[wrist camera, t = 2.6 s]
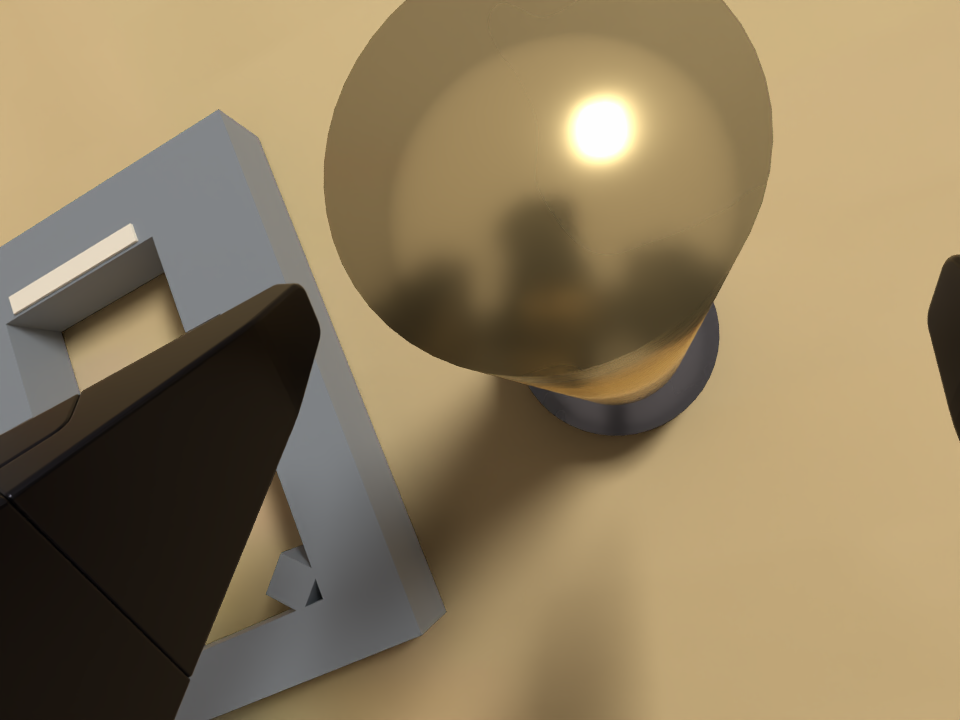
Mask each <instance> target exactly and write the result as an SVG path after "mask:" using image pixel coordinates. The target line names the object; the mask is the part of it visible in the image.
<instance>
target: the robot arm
mask: <svg viewBox="0 0 960 720" xmlns="http://www.w3.org/2000/svg"><path fill="white" fill-rule="evenodd" d="M928 329H929V333H930V337H931V341H932V345H933V349H934V353H935V356H936V360H937V364H938V368H939V372H940V376H941V380H942V384H943V388H944V392H945V396H946V400H947V404H948V408H949V411H950V415H951V418H952V422H953V425H954V428H955V430H956V433H957V436H958V438H959V441H960V255H953V256H951V257H950V258H948V259H947V260H946V262H945V263H944V265H943V267H942V270H941V273H940V276H939V279H938V282H937V285H936V288H935V291H934V294H933V297H932V301H931V304H930V307H929V310H928ZM320 336H321V329H320V324H319V321H318V319H317V316H316V314H315V312H314V309H313V307H312V304H311V302H310V300H309V297H308V295H307V292H306V290H305V289H304V288H303V286H301V285H300V284H298V283H287V284H276V285H273V286H271V287H270V288H268V289H266V290H264V291H262V292H261V293H259V294H257V295H255V296H253V297H251V298H250V299H248V300H246V301H244V302H242V303H241V304H239V305H237V306H235V307H233V308H232V309H230V310H228V311H226V312H224V313H223V314H221V315H219V316H217V317H215V318H213V319H212V320H210V321H208V322H206V323H204V324H203V325H201V326H199V327H197V328H195V329H194V330H192V331H190V332H188V333H186V334H185V335H183V336H181V337H179V338H177V339H175V340H174V341H172V342H170V343H168V344H166V345H165V346H163V347H161V348H159V349H157V350H156V351H154V352H152V353H150V354H148V355H147V356H145V357H143V358H141V359H139V360H137V361H136V362H134V363H132V364H130V365H128V366H127V367H125V368H123V369H121V370H119V371H118V372H116V373H114V374H112V375H110V376H109V377H107V378H105V379H103V380H101V381H99V382H98V383H96V384H94V385H92V386H90V387H89V388H87V389H85V390H83V391H82V392H81V394H76V395H74V396H72V397H70V398H68V399H67V400H65V401H63V402H61V403H59V404H58V405H56V406H54V407H52V408H50V409H48V410H47V411H45V412H43V413H41V414H39V415H37V416H35V417H34V418H32V419H30V420H28V421H26V422H24V423H22V424H20V425H19V426H17V427H15V428H13V429H11V430H9V431H7V432H5V433H3V434H1V435H0V720H175V717H176V715H177V712H178V710H179V707H180V705H181V702H182V700H183V698H184V695H185V693H186V690H187V688H188V685H189V683H190V678H189V677H191V676H192V675H193V672H194V670H195V667H196V665H197V662H198V660H199V658H200V655H201V653H202V650H203V648H204V645H205V643H206V640H207V638H208V636H209V633H210V631H211V628H212V626H213V623H214V621H215V618H216V616H217V613H218V611H219V609H220V606H221V604H222V601H223V599H224V596H225V594H226V591H227V589H228V587H229V584H230V582H231V579H232V577H233V574H234V572H235V569H236V567H237V565H238V562H239V560H240V557H241V555H242V552H243V550H244V547H245V545H246V543H247V540H248V538H249V535H250V533H251V530H252V528H253V525H254V523H255V521H256V518H257V516H258V513H259V511H260V508H261V506H262V503H263V501H264V498H265V496H266V494H267V491H268V489H269V486H270V484H271V481H272V479H273V476H274V474H275V472H276V469H277V467H278V464H279V462H280V459H281V457H282V454H283V452H284V450H285V447H286V445H287V442H288V440H289V437H290V435H291V432H292V430H293V428H294V425H295V422H296V420H297V417H298V414H299V411H300V408H301V405H302V402H303V398H304V394H305V391H306V387H307V384H308V380H309V377H310V373H311V370H312V366H313V363H314V359H315V355H316V352H317V348H318V345H319V341H320Z"/></svg>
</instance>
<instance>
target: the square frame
mask: <svg viewBox="0 0 960 720" xmlns="http://www.w3.org/2000/svg"><path fill="white" fill-rule="evenodd" d="M164 272H165V275H166V278H167V281H168V283H169V286H170V289H171V292H172V295H173V298H174V301H175V304H176V306H177V309H178V312H179V315H180V318H181V321H182V324H183V327H184V329H185V332H186V333H188V332H190V331H192V330H194V329H195V328H197V327H199V326H201V325H203V324H204V323H206V322H208V321H210V320H212V319H213V318H215V317H217V316H219V315H221V314H223V313H224V312H226V311H228V310H230V309H232V308H233V307H235V306H237V305H239V304H241V303H242V302H244V301H246V300H248V299H250V298H251V297H253V296H255V295H257V294H259V293H261V292H262V291H264V290H266V289H268V288H270V287H271V286H273V285H276V284H287V283H298V284H300V285H301V286H303V288H304V289H305V290H306V292H307V295H308V297H309V300H310V302H311V304H312V307H313V309H314V312H315V314H316V316H317V319H318V321H319V324H320V329H321V336H320V341H319V345H318V348H317V352H316V355H315V359H314V363H313V366H312V370H311V373H310V377H309V380H308V384H307V387H306V391H305V394H304V398H303V402H302V405H301V408H300V411H299V414H298V417H297V420H296V422H295V425H294V428H293V430H292V432H291V435H290V437H289V440H288V442H287V445H286V447H285V450H284V452H283V454H282V457H281V459H280V462H279V464H278V467H277V469H276V470H277V473H278V476H279V479H280V482H281V484H282V487H283V490H284V493H285V495H286V498H287V501H288V504H289V506H290V509H291V512H292V515H293V518H294V520H295V523H296V526H297V529H298V531H299V534H300V537H301V540H302V543H303V545H301V546H298V547H295V548H293V549H290V550H287V551H285V552H282V553H281V554H280V557H279V560H278V562H277V565H276V568H275V571H274V573H273V576H272V579H271V582H270V584H269V587H268V590H267V592H266V595H268V596H270V597H272V598H274V599H275V600H277V601H279V602H281V603H283V604H285V605H287V606H289V607H290V608H292V609H289V610H287V611H285V612H282V613H280V614H278V615H275V616H273V617H271V618H268V619H266V620H264V621H261V622H259V623H257V624H254V625H252V626H250V627H247V628H245V629H243V630H240V631H238V632H236V633H233V634H231V635H229V636H226V637H224V638H222V639H219V640H217V641H215V642H212V643H210V644H208V645H205V646H204V648H203V650H202V653H201V655H200V658H199V660H198V662H197V665H196V667H195V670H194V672H193V675H192V676H191V677H189V678H190V683H189V685H188V688H187V690H186V693H185V695H184V698H183V700H182V702H181V705H180V707H179V710H178V712H177V715H176V717H175V720H210V719H212V718H215V717H217V716H220V715H223V714H225V713H228V712H230V711H233V710H235V709H238V708H240V707H243V706H245V705H248V704H250V703H253V702H255V701H258V700H260V699H263V698H265V697H268V696H270V695H273V694H275V693H278V692H280V691H283V690H285V689H288V688H290V687H293V686H295V685H298V684H300V683H303V682H305V681H308V680H310V679H313V678H315V677H318V676H320V675H323V674H325V673H328V672H330V671H333V670H336V669H338V668H341V667H343V666H346V665H348V664H351V663H353V662H356V661H358V660H361V659H363V658H366V657H368V656H371V655H373V654H376V653H378V652H381V651H383V650H386V649H388V648H391V647H393V646H396V645H398V644H401V643H403V642H406V641H408V640H411V639H413V638H416V637H418V636H421V635H423V634H424V633H425V632H426V631H427V630H428V629H429V628H430V627H431V626H432V625H433V624H434V623H435V622H436V621H437V620H438V619H439V618H440V617H442V616H443V615H444V614H445V613H446V609H445V607H444V604H443V602H442V599H441V597H440V594H439V592H438V589H437V587H436V584H435V582H434V579H433V577H432V574H431V572H430V569H429V567H428V564H427V562H426V559H425V556H424V554H423V551H422V549H421V546H420V544H419V541H418V539H417V536H416V534H415V531H414V529H413V526H412V524H411V521H410V519H409V516H408V514H407V511H406V509H405V506H404V504H403V501H402V498H401V496H400V493H399V491H398V488H397V486H396V483H395V481H394V478H393V476H392V473H391V471H390V468H389V466H388V463H387V461H386V458H385V456H384V453H383V451H382V448H381V446H380V443H379V441H378V438H377V435H376V433H375V430H374V428H373V425H372V423H371V420H370V418H369V415H368V413H367V410H366V408H365V405H364V403H363V400H362V398H361V395H360V393H359V390H358V388H357V385H356V383H355V380H354V377H353V375H352V372H351V370H350V367H349V365H348V362H347V360H346V357H345V355H344V352H343V350H342V347H341V345H340V342H339V340H338V337H337V335H336V332H335V330H334V327H333V325H332V322H331V319H330V317H329V314H328V312H327V309H326V307H325V304H324V302H323V299H322V297H321V294H320V292H319V289H318V287H317V284H316V282H315V279H314V277H313V274H312V272H311V269H310V267H309V264H308V262H307V259H306V256H305V254H304V251H303V249H302V246H301V244H300V241H299V239H298V236H297V234H296V231H295V229H294V226H293V224H292V221H291V219H290V216H289V214H288V211H287V209H286V206H285V204H284V201H283V198H282V196H281V193H280V191H279V188H278V186H277V183H276V181H275V178H274V176H273V173H272V171H271V168H270V166H269V163H268V161H267V158H266V156H265V153H264V151H263V148H262V146H261V143H260V140H259V138H258V137H257V136H255V135H254V134H253V133H251V132H250V131H248V130H247V129H246V128H244V127H243V126H241V125H240V124H239V123H237V122H236V121H234V120H233V119H232V118H230V117H229V116H227V115H226V114H225V113H223V112H222V111H220V110H219V109H218V110H217V111H215V112H214V113H212V114H210V115H209V116H207V117H206V118H204V119H202V120H201V121H199V122H198V123H196V124H195V125H193V126H191V127H190V128H188V129H187V130H185V131H183V132H182V133H180V134H179V135H177V136H176V137H174V138H172V139H171V140H169V141H168V142H166V143H164V144H163V145H161V146H160V147H158V148H157V149H155V150H153V151H152V152H150V153H149V154H147V155H145V156H144V157H142V158H141V159H139V160H138V161H136V162H134V163H133V164H131V165H130V166H128V167H126V168H125V169H123V170H122V171H120V172H119V173H117V174H115V175H114V176H112V177H111V178H109V179H107V180H106V181H104V182H103V183H101V184H100V185H98V186H96V187H95V188H93V189H92V190H90V191H88V192H87V193H85V194H84V195H82V196H81V197H79V198H77V199H76V200H74V201H73V202H71V203H69V204H68V205H66V206H65V207H63V208H62V209H60V210H58V211H57V212H55V213H54V214H52V215H50V216H49V217H47V218H46V219H44V220H43V221H41V222H39V223H38V224H36V225H35V226H33V227H32V228H30V229H28V230H27V231H25V232H24V233H22V234H20V235H19V236H17V237H16V238H14V239H13V240H11V241H9V242H8V243H6V244H5V245H3V246H1V247H0V435H1V434H3V433H5V432H7V431H9V430H11V429H13V428H15V427H17V426H19V425H20V424H22V423H24V422H26V421H28V420H30V419H32V418H34V417H35V416H37V415H39V414H41V413H43V412H45V411H47V410H48V409H50V408H52V407H54V406H56V405H58V404H59V403H61V402H63V401H65V400H67V399H68V398H70V397H72V396H74V395H76V394H80V391H79V388H78V385H77V382H76V378H75V375H74V372H73V369H72V365H71V362H70V359H69V356H68V352H67V349H66V346H65V343H64V339H63V336H62V333H61V332H62V331H64V330H66V329H67V328H69V327H71V326H73V325H74V324H76V323H78V322H79V321H81V320H83V319H85V318H86V317H88V316H90V315H91V314H93V313H95V312H97V311H98V310H100V309H102V308H103V307H105V306H107V305H109V304H110V303H112V302H114V301H116V300H117V299H119V298H121V297H122V296H124V295H126V294H128V293H129V292H131V291H133V290H134V289H136V288H138V287H140V286H141V285H143V284H145V283H147V282H148V281H150V280H152V279H153V278H155V277H157V276H159V275H160V274H162V273H164Z"/></svg>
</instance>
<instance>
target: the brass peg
mask: <svg viewBox="0 0 960 720" xmlns="http://www.w3.org/2000/svg"><path fill="white" fill-rule="evenodd" d="M772 145H773V128H772V108H771V103H770V98H769V93H768V88H767V83H766V78H765V75H764V72H763V69H762V67H761V64H760V61H759V59H758V56H757V53H756V50H755V48H754V46H753V45H752V43H751V41H750V39H749V37H748V35H747V34H746V32H745V30H744V28H743V26H742V25H741V23H740V22H739V20H738V19H737V18H736V16H735V15H734V14H733V13H732V11H731V10H730V9H729V7H728V6H727V5H726V4H725V2H724V1H723V0H406V1H405V2H404V3H403V4H402V5H401V6H399V7H398V8H397V9H396V10H395V11H394V12H393V13H392V14H391V15H390V16H389V17H388V19H387V20H386V21H385V22H384V23H383V25H382V26H381V27H380V28H379V29H378V31H377V32H376V33H375V34H374V35H373V36H372V38H371V39H370V41H369V42H368V44H367V45H366V47H365V48H364V50H363V51H362V53H361V54H360V56H359V57H358V59H357V60H356V62H355V64H354V66H353V68H352V70H351V72H350V74H349V76H348V78H347V80H346V82H345V84H344V86H343V89H342V91H341V94H340V96H339V99H338V102H337V104H336V107H335V109H334V113H333V117H332V121H331V125H330V129H329V133H328V138H327V145H326V152H325V160H324V194H325V203H326V213H327V218H328V222H329V226H330V230H331V234H332V238H333V241H334V244H335V247H336V249H337V252H338V254H339V257H340V260H341V262H342V264H343V266H344V268H345V270H346V272H347V274H348V275H349V277H350V279H351V281H352V283H353V285H354V286H355V288H356V289H357V290H358V292H359V293H360V295H361V296H362V297H363V299H364V300H365V301H366V303H367V304H368V305H369V307H370V308H371V309H372V310H373V311H374V312H375V313H376V314H377V315H378V316H379V317H380V318H381V319H382V320H383V321H384V322H385V323H386V324H387V325H388V326H389V327H390V328H391V329H393V330H394V331H395V332H397V333H398V334H399V335H400V336H402V337H403V338H404V339H406V340H407V341H408V342H409V343H411V344H413V345H415V346H416V347H418V348H420V349H422V350H423V351H425V352H427V353H429V354H430V355H432V356H434V357H437V358H439V359H442V360H444V361H447V362H449V363H452V364H454V365H456V366H459V367H463V368H466V369H470V370H474V371H478V372H482V373H485V374H489V375H493V376H497V377H500V378H504V379H508V380H512V381H515V382H519V383H523V384H527V385H528V386H529V388H530V389H531V391H532V393H533V394H534V395H535V397H536V398H537V399H538V400H539V402H540V403H541V404H542V405H543V406H544V407H545V408H546V409H547V410H548V411H550V412H551V413H552V414H553V415H555V416H556V417H557V418H559V419H560V420H562V421H564V422H566V423H567V424H569V425H571V426H573V427H576V428H578V429H581V430H583V431H587V432H591V433H595V434H602V435H630V434H637V433H641V432H645V431H648V430H651V429H654V428H656V427H658V426H661V425H663V424H665V423H666V422H668V421H670V420H672V419H673V418H675V417H676V416H677V415H679V414H680V413H681V412H683V411H684V410H685V409H686V408H687V407H688V406H689V405H690V404H691V403H692V402H693V401H694V400H695V399H696V398H697V396H698V395H699V394H700V392H701V391H702V390H703V388H704V386H705V385H706V383H707V381H708V379H709V378H710V375H711V373H712V370H713V368H714V365H715V361H716V357H717V353H718V346H719V323H718V317H717V312H716V308H715V305H714V302H713V301H714V299H715V298H716V296H717V294H718V292H719V290H720V288H721V286H722V285H723V283H724V281H725V279H726V277H727V275H728V273H729V271H730V270H731V268H732V266H733V264H734V262H735V260H736V258H737V256H738V255H739V253H740V251H741V249H742V247H743V245H744V243H745V241H746V240H747V238H748V236H749V234H750V232H751V229H752V227H753V224H754V222H755V219H756V217H757V214H758V212H759V209H760V207H761V204H762V201H763V197H764V193H765V189H766V185H767V181H768V177H769V173H770V165H771V155H772Z"/></svg>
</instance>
